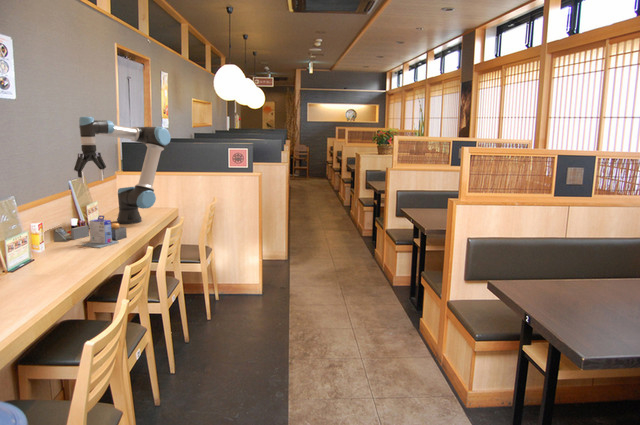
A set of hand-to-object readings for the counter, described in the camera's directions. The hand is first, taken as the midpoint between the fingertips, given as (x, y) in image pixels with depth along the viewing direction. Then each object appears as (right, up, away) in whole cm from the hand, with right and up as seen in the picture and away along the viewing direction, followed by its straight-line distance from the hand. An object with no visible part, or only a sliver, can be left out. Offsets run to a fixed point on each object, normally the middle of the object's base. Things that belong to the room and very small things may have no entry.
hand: (91, 181), depth 269 cm
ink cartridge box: (+13, -34, -16) cm, 40 cm away
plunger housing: (+16, -32, -5) cm, 36 cm away
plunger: (+16, -30, -5) cm, 35 cm away
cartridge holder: (+2, -32, -6) cm, 33 cm away
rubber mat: (+13, -35, -18) cm, 41 cm away
